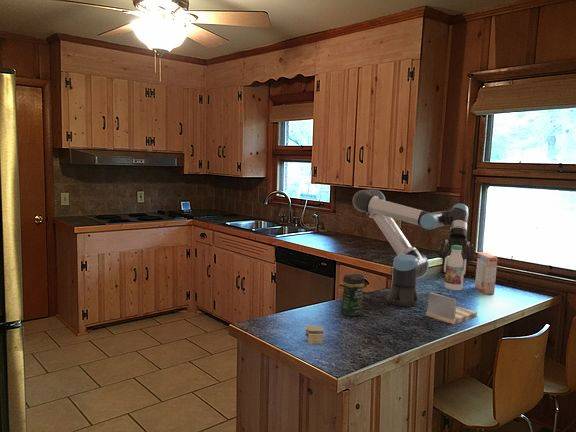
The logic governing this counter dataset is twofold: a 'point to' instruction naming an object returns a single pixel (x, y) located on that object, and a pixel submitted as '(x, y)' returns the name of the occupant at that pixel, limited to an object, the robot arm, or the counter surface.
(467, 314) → the shelf board
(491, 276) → the cracker box
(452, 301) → the bookend
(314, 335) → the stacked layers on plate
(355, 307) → the coffee jar
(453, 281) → the milk bottle
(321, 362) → the counter surface
